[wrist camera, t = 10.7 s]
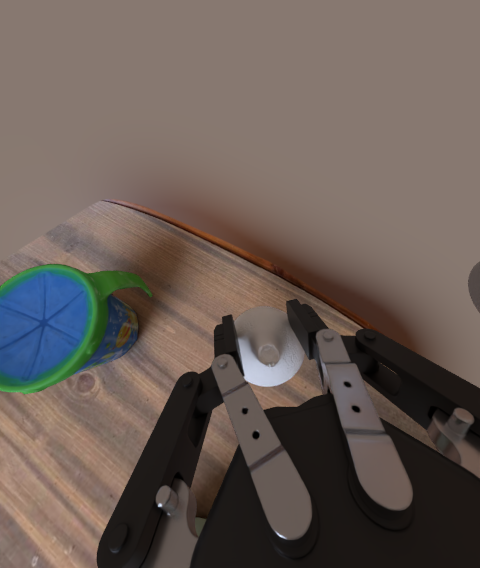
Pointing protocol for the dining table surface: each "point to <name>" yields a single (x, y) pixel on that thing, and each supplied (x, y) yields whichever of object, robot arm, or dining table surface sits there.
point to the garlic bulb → (268, 346)
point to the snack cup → (62, 324)
